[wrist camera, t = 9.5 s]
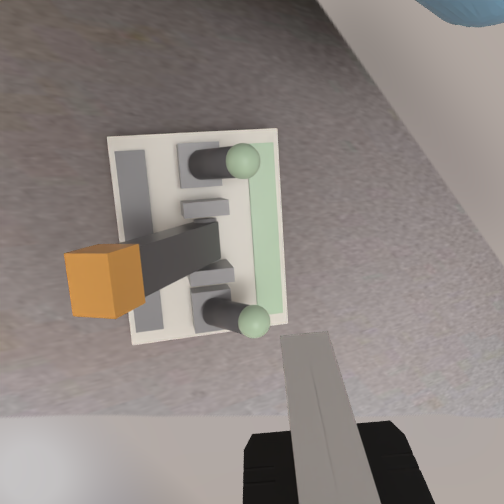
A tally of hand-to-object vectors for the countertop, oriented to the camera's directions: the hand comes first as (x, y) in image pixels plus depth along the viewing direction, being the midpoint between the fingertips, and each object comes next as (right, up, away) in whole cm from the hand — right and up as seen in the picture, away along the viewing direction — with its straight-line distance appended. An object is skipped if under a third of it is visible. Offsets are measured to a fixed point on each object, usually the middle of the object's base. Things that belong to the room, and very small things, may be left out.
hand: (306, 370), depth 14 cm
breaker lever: (-5, +5, +17) cm, 18 cm away
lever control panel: (-6, +5, +21) cm, 23 cm away
